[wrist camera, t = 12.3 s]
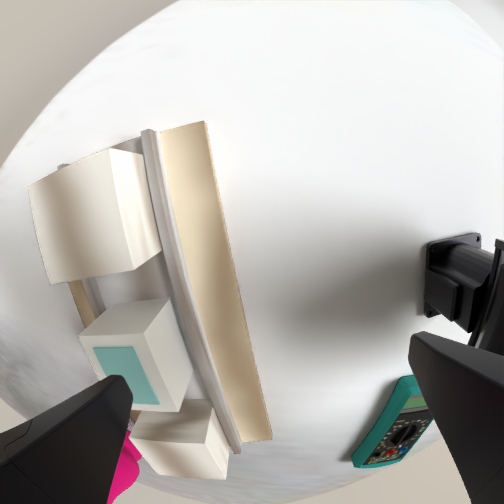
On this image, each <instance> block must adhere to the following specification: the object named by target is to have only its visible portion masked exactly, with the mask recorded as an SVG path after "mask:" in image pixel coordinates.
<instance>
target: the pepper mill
mask: <svg viewBox="0 0 504 504" xmlns="http://www.w3.org/2000/svg"><path fill="white" fill-rule="evenodd" d="M130 433H131V432H130V431H128V430H127V433H126V437H125V441H124V444H123V447H122V451H121V454H120V457H119V461H118V464H117V468H116V471H115V475H114V478H113V482H112V486H111V490H110V493H109V497H108V501H107V504H112V503H113V501H114V500H115V499H116V497H117V496H118V495H119V494H121V493H122V492H123V491H125V490H126V489H128V488H129V487H130V486H131V485H132V484H133V483H134V482H135V481H136V479H137V477H138V475H139V471H140V470H139V466H138V463H137V461H138V460H140V459H141V456H142V455H141V453H140V452H139V451H138V449H137V448H136V447H135V446H134V444H133V443H132V442H131V440H130V439H129V435H130Z"/></svg>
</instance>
